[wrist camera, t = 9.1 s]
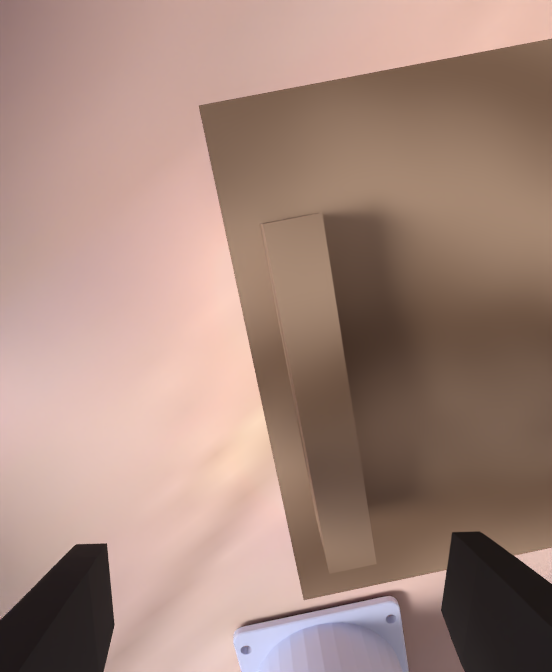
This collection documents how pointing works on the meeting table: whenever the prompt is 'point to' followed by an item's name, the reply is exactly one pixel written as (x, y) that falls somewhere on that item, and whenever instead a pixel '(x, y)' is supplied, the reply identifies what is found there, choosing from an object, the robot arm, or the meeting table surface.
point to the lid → (399, 306)
